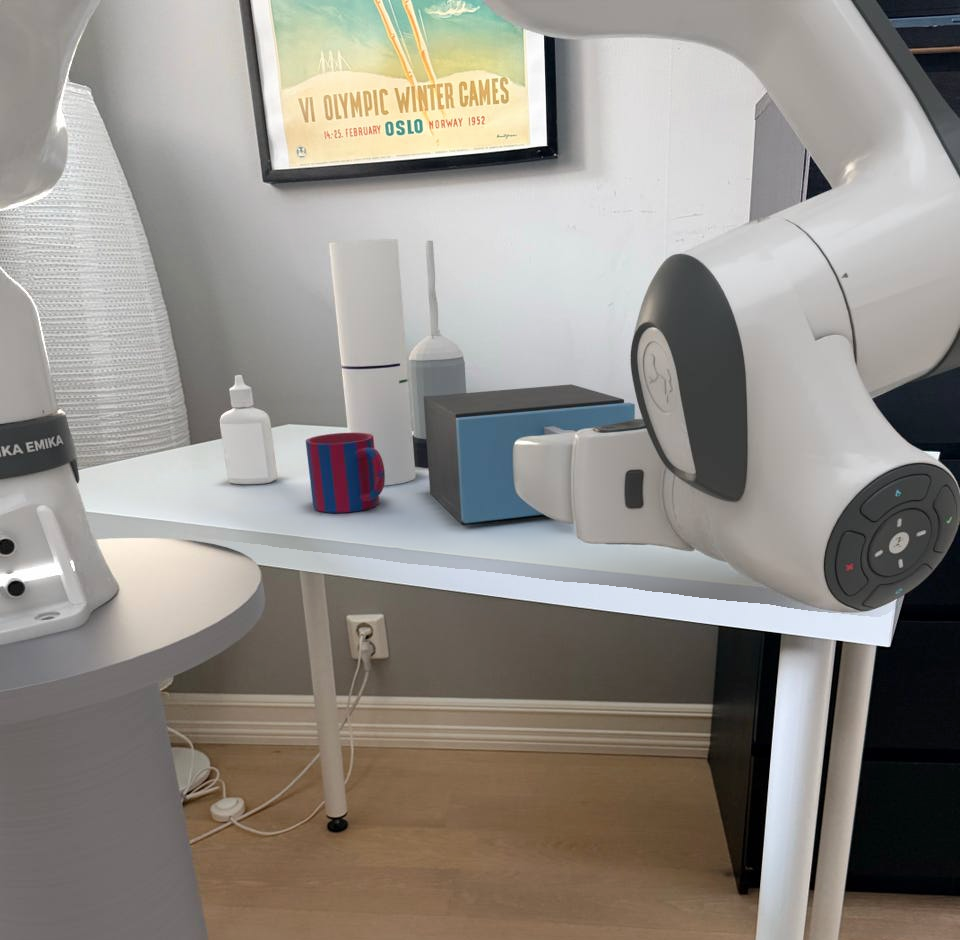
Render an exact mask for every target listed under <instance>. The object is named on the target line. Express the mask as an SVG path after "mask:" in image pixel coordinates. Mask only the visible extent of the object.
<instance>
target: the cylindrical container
mask: <svg viewBox="0 0 960 940" xmlns="http://www.w3.org/2000/svg"><path fill="white" fill-rule="evenodd" d="M328 248H329V257H330V267H331V277H332V288H333V297H334V307H335V316H336V326H337V327H336V328H337V337H338V347H339V355H340V365H341V366H342V367H341V376H342V377H341V378H342V386H343V394H344V395H343V396H344V405H345V417H346V424H347V425H346V426H347V433H367V434H371V435H373V439H374V449H376V450H377V451H378V452H379V454H380V456H381V458H382V461H383V465H384V472H385V482H384V487H385V486H394V485H400V484H405V483H408V482H411V481H414V480H415V479H416V466H415V463H414V450H413V437H412V436H413V422H412V409H411V396H410V383H409V370H408V359H407V346H406V345H407V344H406V334H405V332H406V331H405V321H404V320H405V319H404V307H403V294H402V293H403V292H402V280H401V279H402V278H401V268H400V267H401V266H400V255H399V254H400V253H399V241H398V239H395V238H393V239H392V238H391V239H390V238H388V239H385V238H383V239H361V240H359V239H358V240H348V241H347V240H343V241H333V242H329V243H328Z"/></svg>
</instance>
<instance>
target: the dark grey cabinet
mask: <svg viewBox="0 0 960 940" xmlns="http://www.w3.org/2000/svg"><path fill="white" fill-rule="evenodd" d="M619 403H625V399H624V398H622V397H621V398H620V397H616V396H613V395H610V394H607V393H603V392H599V391H597V390H592V389H589V388H586V387H582V386H579V385H575V384H561V385H559V384H558V385H549V386H548V385H547V386H537V387H535V386H534V387H524V388H512V389H511V388H510V389H498V390H487V391H486V390H485V391H475V392H474V391H473V392H466V393H461V394H449V395H437V396H425V397H424V412H425V426H426V441H427V455H428V467H427V470H428V483H429V494H430V495H431V496H432V497H433V498H434V499H435V500H436V501H437V502H438V503H439V504H440V505H441V506H442V507H443V508H444V509H446V511H447V512H448V513H449V514H450V515H451V516H452V517H453V518H454V519H456V520H457V521H458V522H459V523H460V524H461V525H470V524H478V523H485V522H486V523H487V522H494V521H502V520H503V521H504V520H511V519H512V520H513V519H521V518H522V519H523V518H529V517H538V516H545V515H544V514H541V515H533V516H524V517H515V518H506V519H498V520H489V521H480V522H471V523H464V522H463V521H462V520H461V503H460V486H459V468H458V451H457V433H456V418H460V417H472V416H483V415H494V414H506V413H517V412H528V411H540V410H551V409H562V408H573V407H585V406H596V405H607V404H619Z"/></svg>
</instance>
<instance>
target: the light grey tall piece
mask: <svg viewBox="0 0 960 940" xmlns="http://www.w3.org/2000/svg"><path fill="white" fill-rule="evenodd" d="M425 255H426V269H427V271H426V272H427V294H428V295H427V296H428V304H429V318H430V328H429V334H428V335H427V336H426V337H425V338H424V339H422V340H420V341H419V342H418V343H417V344H416V345H415V346H414V347H413V349H411V352H410V353H409V356H408V365H407V368H408V381H409V395H410V408H411V421H412V437H413V450H414V463H415V467H418V468H428V455H427V441H426V426H425V412H424V397H425V396H437V395H449V394H461V393H467V379H466V363H465V358H464V353H463V352H462V350H461V348H460V347H459V346H458V345H457V344H456V343H455V342H454V341H452V340H451V339H449V338H447V337H445V336H444V335H442V333H441V331H440V329H439V305H438V298H437V293H436V292H437V291H436V266H435V251H434V241H433V240H426V243H425Z"/></svg>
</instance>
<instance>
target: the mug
mask: <svg viewBox="0 0 960 940" xmlns="http://www.w3.org/2000/svg"><path fill="white" fill-rule="evenodd" d="M305 448H306V456H307V465H308V466H307V467H308V473H309V482H310V491H311V499H312V507H313V509H314V510H315V511H318V512H321V513H329V514H330V513H331V514H332V513H333V514H339V513H340V514H341V513H342V514H343V513H353V512H359V511H364V510H368V509H372V508H374V507H376V506H377V505H379V504H380V495H381V494H382V492H383V490H384V487H385V486H384V482H385V472H384V465H383V461H382V458H381V456H380V454H379V452H378V451H377V450H376V449H374V439H373V435H371V434H367V433H348V432H336V433H327V434H321V435H315V436H312V437H309V438H307V439H306V440H305Z"/></svg>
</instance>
